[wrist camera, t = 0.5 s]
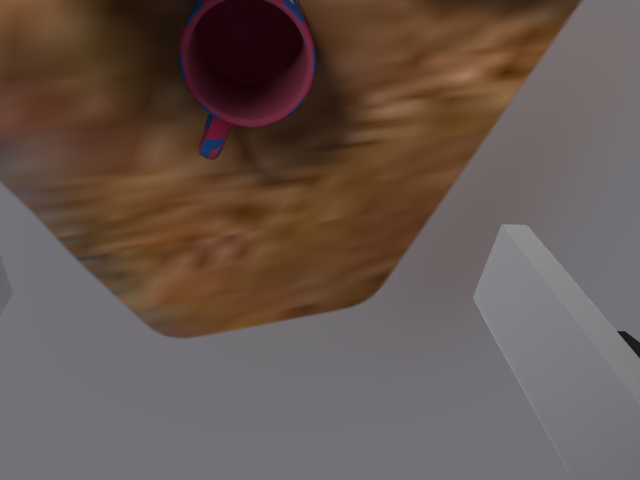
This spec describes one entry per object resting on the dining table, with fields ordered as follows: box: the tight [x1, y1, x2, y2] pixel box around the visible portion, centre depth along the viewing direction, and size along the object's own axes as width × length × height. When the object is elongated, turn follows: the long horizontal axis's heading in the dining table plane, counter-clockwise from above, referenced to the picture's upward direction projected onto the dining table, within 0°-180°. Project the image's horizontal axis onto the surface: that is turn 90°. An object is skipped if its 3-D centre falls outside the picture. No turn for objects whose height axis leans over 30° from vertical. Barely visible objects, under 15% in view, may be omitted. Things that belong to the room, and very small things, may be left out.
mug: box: [179, 0, 316, 160], centre depth 27 cm, size 7×10×7 cm
